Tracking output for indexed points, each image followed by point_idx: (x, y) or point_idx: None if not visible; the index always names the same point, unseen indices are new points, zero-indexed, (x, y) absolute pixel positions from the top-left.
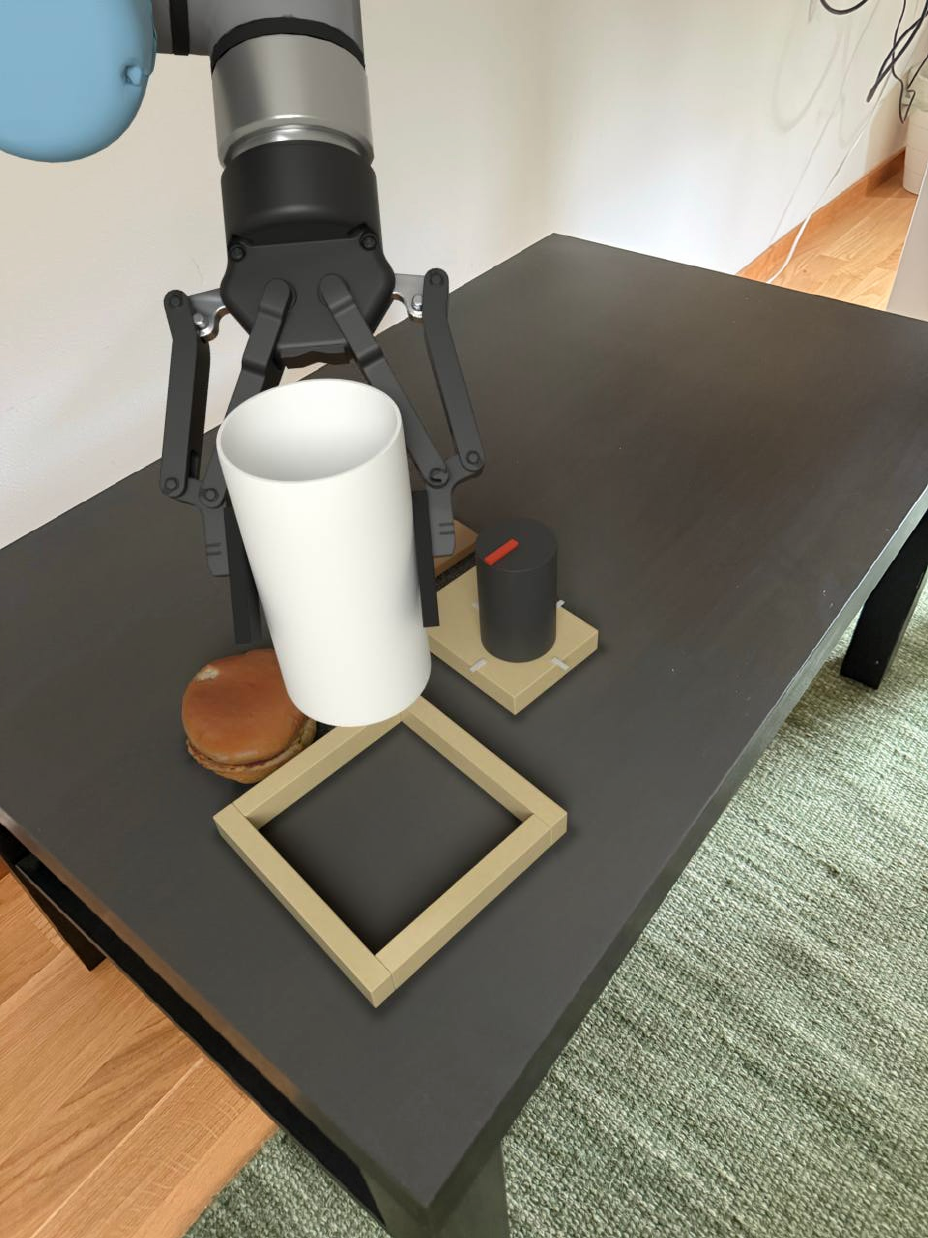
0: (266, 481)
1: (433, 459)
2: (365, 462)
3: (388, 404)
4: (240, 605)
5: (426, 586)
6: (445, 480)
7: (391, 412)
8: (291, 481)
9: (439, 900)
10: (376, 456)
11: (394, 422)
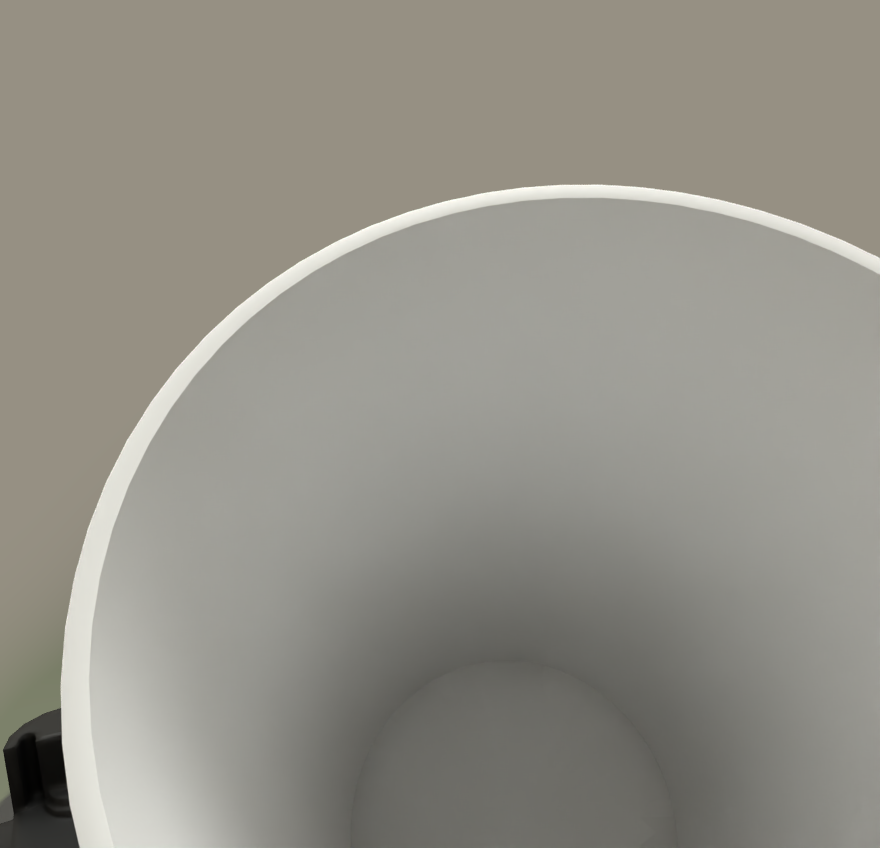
0: (725, 203)
1: (52, 841)
2: (309, 266)
3: (118, 809)
4: None
5: None
6: (50, 713)
7: (124, 773)
8: (618, 196)
9: None
10: (257, 301)
11: (135, 734)
